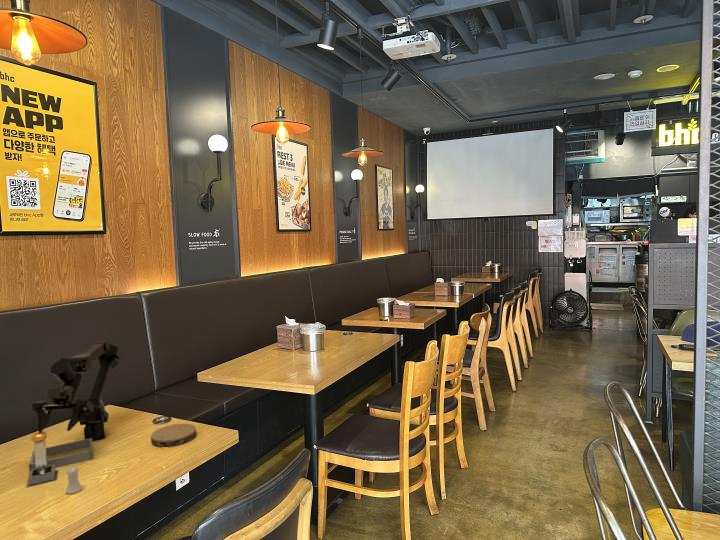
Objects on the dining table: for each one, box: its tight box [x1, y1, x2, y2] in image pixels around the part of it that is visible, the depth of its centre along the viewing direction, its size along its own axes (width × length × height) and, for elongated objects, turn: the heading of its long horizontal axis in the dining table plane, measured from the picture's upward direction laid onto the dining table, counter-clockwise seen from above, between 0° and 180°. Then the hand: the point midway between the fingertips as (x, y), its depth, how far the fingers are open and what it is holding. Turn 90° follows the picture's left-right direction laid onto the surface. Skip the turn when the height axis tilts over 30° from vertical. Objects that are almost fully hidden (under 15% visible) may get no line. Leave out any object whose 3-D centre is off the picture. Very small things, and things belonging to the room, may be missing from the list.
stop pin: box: [30, 431, 48, 475], centre depth 151 cm, size 4×4×14 cm
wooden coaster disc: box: [150, 423, 197, 449], centre depth 181 cm, size 16×16×3 cm
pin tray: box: [28, 438, 94, 471], centre depth 165 cm, size 18×13×4 cm
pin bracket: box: [25, 464, 59, 488], centre depth 151 cm, size 8×8×4 cm
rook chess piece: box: [65, 465, 83, 495], centre depth 143 cm, size 4×4×8 cm
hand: (53, 431), depth 158 cm, fingers open, 9 cm apart
